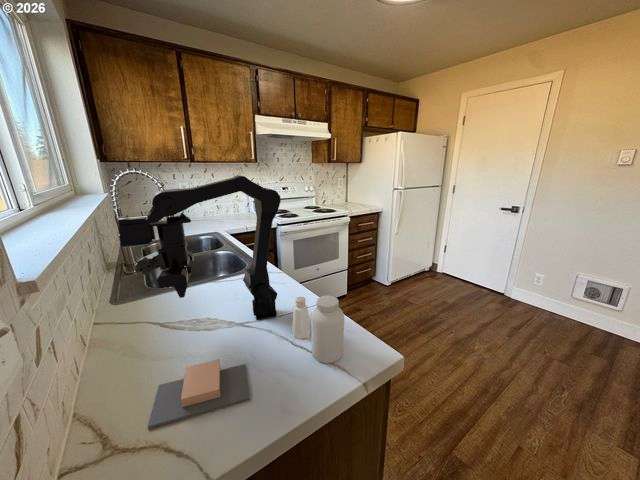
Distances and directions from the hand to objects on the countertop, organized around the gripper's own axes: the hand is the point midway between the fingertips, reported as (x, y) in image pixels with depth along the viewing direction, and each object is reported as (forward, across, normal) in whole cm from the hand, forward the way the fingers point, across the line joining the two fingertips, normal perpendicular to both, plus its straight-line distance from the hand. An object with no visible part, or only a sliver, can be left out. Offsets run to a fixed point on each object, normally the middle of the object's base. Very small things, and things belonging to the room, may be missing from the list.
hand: (182, 297), depth 71 cm
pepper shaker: (+12, +10, +30) cm, 34 cm away
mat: (+12, +22, +5) cm, 26 cm away
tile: (+10, +16, +5) cm, 20 cm away
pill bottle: (+12, +20, +34) cm, 41 cm away
